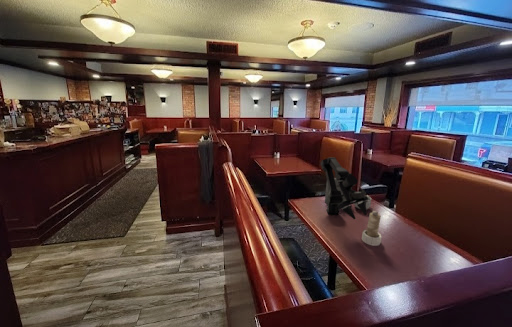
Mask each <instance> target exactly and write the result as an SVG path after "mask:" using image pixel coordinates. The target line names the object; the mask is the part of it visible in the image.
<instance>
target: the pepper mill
mask: <svg viewBox="0 0 512 327" xmlns="http://www.w3.org/2000/svg"><path fill="white" fill-rule="evenodd" d="M380 221H381V215H380V213H379V212H378V211H376V210H373V211H372V212H369V216H368V222H367V226H366V227H367V228H366V230H367V233H366V235H368V236H370V237H374V238H377V234H378V233H379V227H380Z"/></svg>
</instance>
